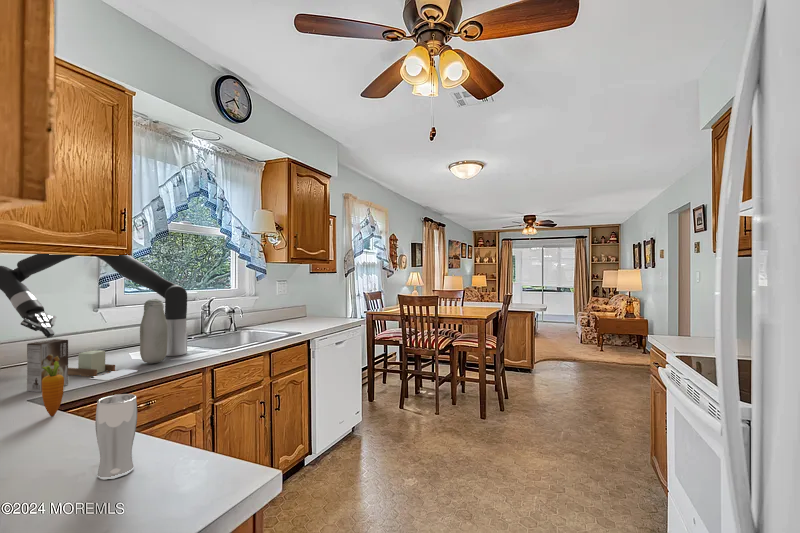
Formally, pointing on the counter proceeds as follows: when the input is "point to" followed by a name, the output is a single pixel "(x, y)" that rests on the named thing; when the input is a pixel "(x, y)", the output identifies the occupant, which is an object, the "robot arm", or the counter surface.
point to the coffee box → (45, 361)
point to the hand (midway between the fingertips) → (51, 336)
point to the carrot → (52, 389)
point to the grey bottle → (153, 332)
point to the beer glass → (116, 433)
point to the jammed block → (92, 360)
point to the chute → (89, 370)
